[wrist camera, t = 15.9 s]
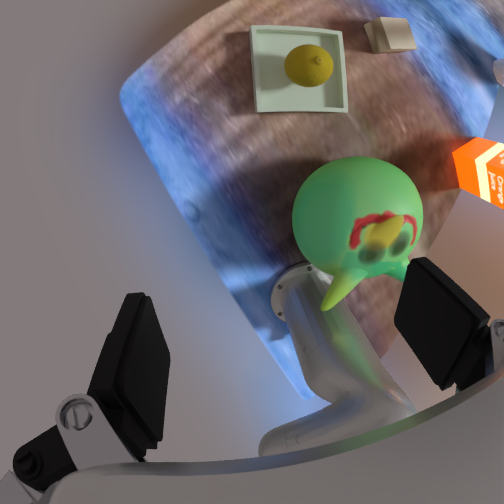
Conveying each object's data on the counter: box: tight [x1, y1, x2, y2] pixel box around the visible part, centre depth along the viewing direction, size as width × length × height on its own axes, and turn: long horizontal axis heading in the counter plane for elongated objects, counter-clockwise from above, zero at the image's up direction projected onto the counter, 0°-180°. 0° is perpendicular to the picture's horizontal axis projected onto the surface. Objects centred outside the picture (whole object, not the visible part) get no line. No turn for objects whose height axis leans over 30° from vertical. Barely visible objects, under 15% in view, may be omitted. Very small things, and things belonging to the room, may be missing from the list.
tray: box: [249, 25, 348, 113], centre depth 30 cm, size 12×12×2 cm
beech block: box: [364, 17, 417, 54], centre depth 27 cm, size 5×5×5 cm
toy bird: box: [292, 157, 423, 311], centre depth 34 cm, size 18×17×15 cm
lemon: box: [284, 44, 333, 87], centre depth 27 cm, size 6×6×8 cm
